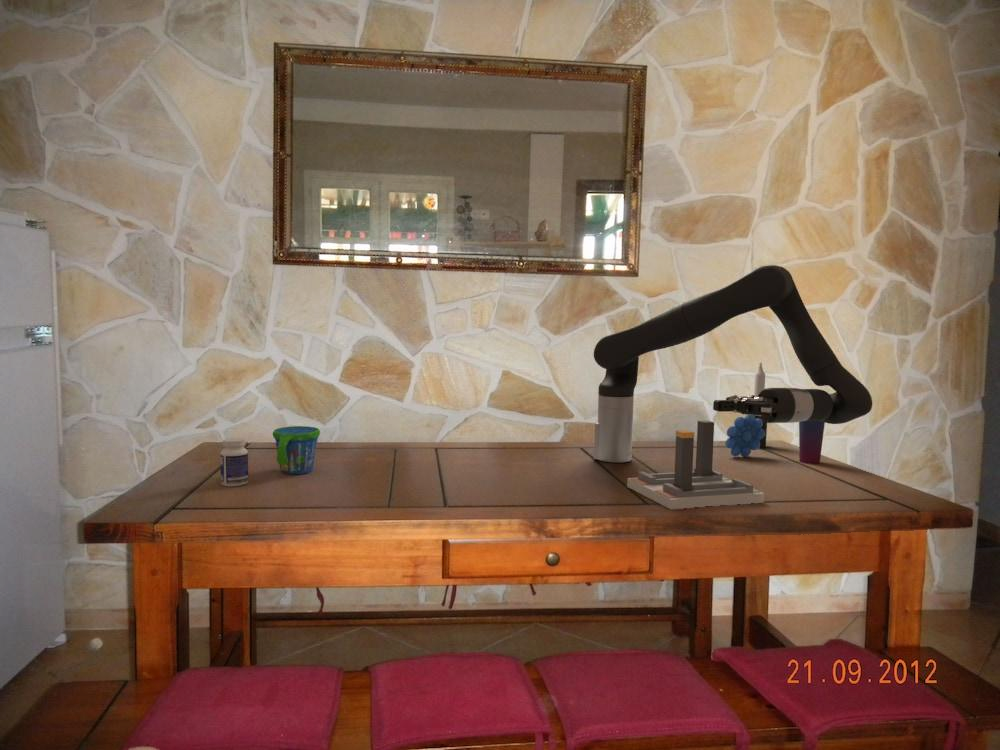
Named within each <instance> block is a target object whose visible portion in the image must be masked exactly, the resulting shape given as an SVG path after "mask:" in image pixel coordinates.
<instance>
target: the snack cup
mask: <svg viewBox="0 0 1000 750" xmlns="http://www.w3.org/2000/svg"><path fill="white" fill-rule="evenodd" d="M320 434H321V430H320V429H319V428H318V427H314V426H306V425H305V426H301V425H293V426H284V427H283V426H282V427H279V428H275V429H273V432H272V437H273V439H274V441H275V446H276V453H277V454H276V461H277V463H278V464H279V469H280V473H283V474H286V475H303V474H308V473H310V472H312V471H313V470H314V467H315V459H316V453H317V445H318V438H319V437H320Z"/></svg>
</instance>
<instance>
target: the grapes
mask: <svg viewBox="0 0 1000 750" xmlns="http://www.w3.org/2000/svg"><path fill="white" fill-rule="evenodd" d="M762 426H763V421H762V420H761V419H760V418H757V419H755V416H754V415H745V417H743V416H738V417H736V418H735V419H734V424H733V425H731V426H729V427H728V428H727V430H726V435H727V437H728V438H726V440H725V444H724V445H725V448H727V449H730V454H731V456H733V457H738V456H739V455H740V456H741V457H744V458H747V457H749V456H750V454H751V452H752V451H756V450H759V449H760V448H759V447H760V441H759V440H760V439H762V438H763V437H764V436H765V431H764V430H763V429H762V428H761V427H762ZM758 439H759V440H758Z"/></svg>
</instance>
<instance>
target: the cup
mask: <svg viewBox="0 0 1000 750" xmlns="http://www.w3.org/2000/svg"><path fill="white" fill-rule="evenodd" d="M825 425H826V423H824V422H820V421H801V422H798V427H799V428H798V436H799V437H798V445H799V446H798V449H799V454H798V455H799V462H800V463H803V464H804V463H805V464H808V463H818V464H820V463H821V456H822V455H821V454H822V447H823V439H824V432H825Z"/></svg>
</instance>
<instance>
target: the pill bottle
mask: <svg viewBox="0 0 1000 750" xmlns="http://www.w3.org/2000/svg"><path fill="white" fill-rule="evenodd" d="M245 446H246V439H245V438H243V437H233V438H232V437H230V438H225V439H223V440H222V447H223V449H222V450H221V451H220V453H219V454H220V455H219V456H220V457H219V459H220V484H221V485H222V486H224V487H241V486H245V485H246V484H248V483H249V453H248V452H249V451H248V449H246V447H245Z"/></svg>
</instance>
